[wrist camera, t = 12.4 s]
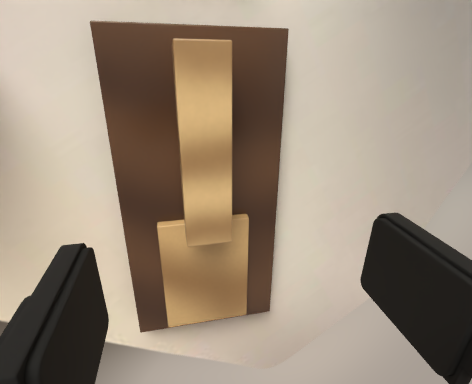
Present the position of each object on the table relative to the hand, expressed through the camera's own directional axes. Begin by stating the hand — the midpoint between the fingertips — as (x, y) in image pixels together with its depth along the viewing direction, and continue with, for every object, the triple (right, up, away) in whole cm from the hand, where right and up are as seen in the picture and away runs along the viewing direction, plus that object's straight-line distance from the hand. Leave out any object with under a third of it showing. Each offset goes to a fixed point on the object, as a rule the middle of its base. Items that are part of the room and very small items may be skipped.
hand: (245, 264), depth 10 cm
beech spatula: (-3, +1, +13) cm, 13 cm away
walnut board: (-3, +2, +14) cm, 15 cm away
